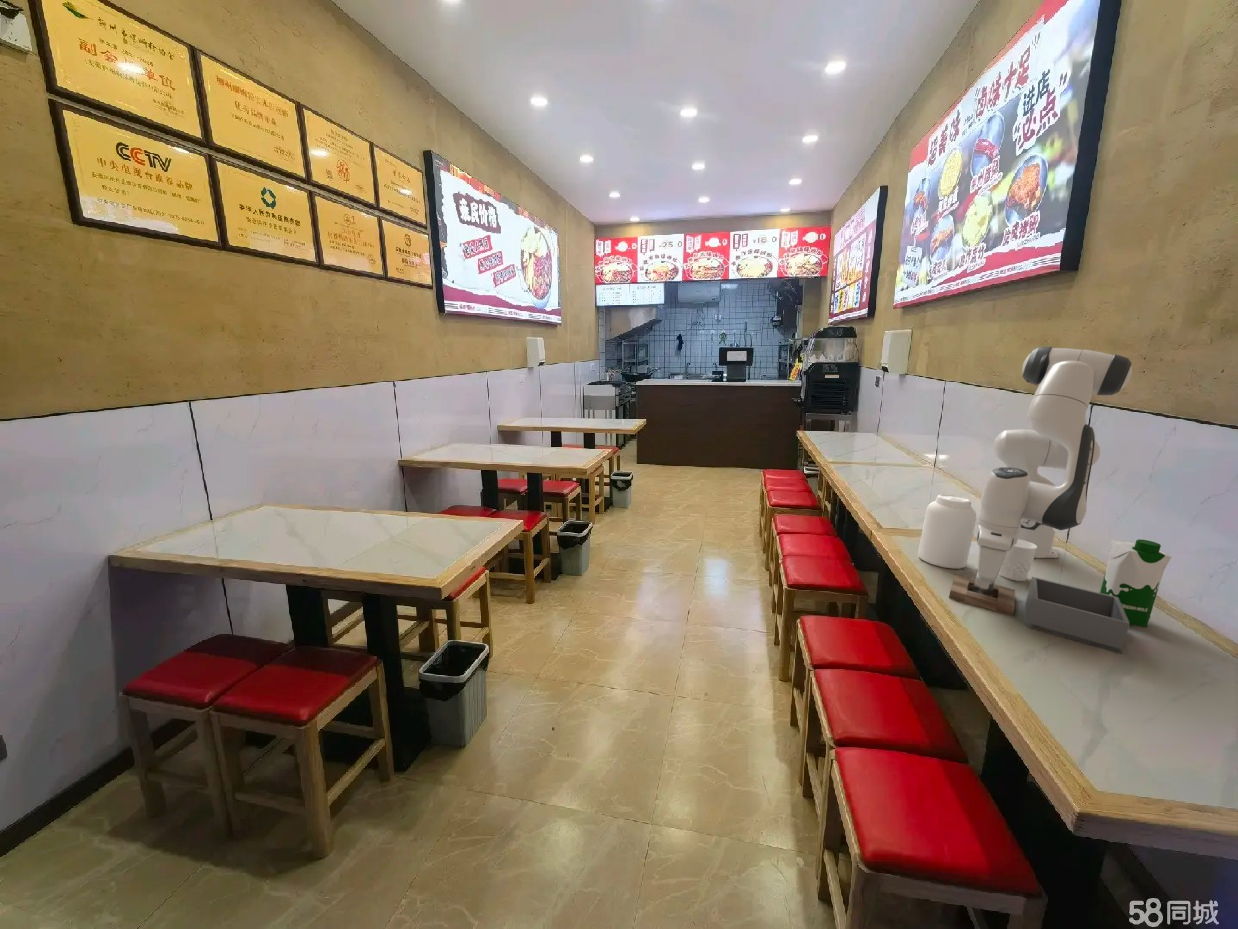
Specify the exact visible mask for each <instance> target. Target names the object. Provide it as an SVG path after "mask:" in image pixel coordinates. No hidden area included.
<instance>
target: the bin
mask: <svg viewBox="0 0 1238 929" xmlns="http://www.w3.org/2000/svg"><path fill="white" fill-rule="evenodd" d="M1025 600H1026V601H1025V616H1026V617H1025V620H1026V621H1025V622H1026V623H1025V625H1026V628H1030V629H1033V630H1037V631H1040V632H1043V633H1047V634H1051V635H1054V636H1058V637H1062V638H1065V639H1067V640H1071V641H1075V642H1079V643H1081V644H1085V645H1086V644H1087V645H1088V646H1092V647H1094V648H1095V647H1096V648H1100V649H1103V650H1105V651H1106V650H1107V651H1110V652H1114V653H1117V654H1119V655H1120V654H1121V655H1122V651H1123V647H1124V645H1125V641H1126V639H1127V638H1126V637H1127V635H1128V631H1129V628H1130V625H1131V624H1130V623H1129V621H1128V618H1127V616H1126V614H1125V611H1124V609H1123V607H1122V605H1121V602H1120V600H1119V598H1118V597H1115V596H1111V595H1106V594H1102V593H1100V592H1099V591H1093V590H1089V589H1086V588H1081V587H1077V586H1072V585H1068V584H1064V583H1060V582H1056V581H1052V580H1047V579H1045V578H1039V577H1035V576H1031V580H1030V584H1029V588H1028V592H1027V596H1026V599H1025Z"/></svg>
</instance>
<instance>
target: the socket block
mask: <svg viewBox="0 0 1238 929" xmlns="http://www.w3.org/2000/svg"><path fill="white" fill-rule="evenodd" d="M975 579H976V578H971V577H968V576H964V575H959V574H956V573H955V574H954V578H953V581H952V585H951V587H950V591H949V595H948V598H949V599H951V600H955V601H959V602H963V603H966V604H969V605H974V606H978V607H980V608H985V609H987V610H992V611H995V612H999V613H1002V614H1005V615H1009V616H1011V617H1012V616H1014V611H1015V604H1016V603H1015V597H1016V596H1015V594H1016V589H1014V588H1009V587H1006V586H1002V585H998V584H996V583H995V584H994V588H993V592H992V597H990V596H987V595H983V594H979V593H976V592H973V588H974V583H975Z"/></svg>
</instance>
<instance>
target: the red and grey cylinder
mask: <svg viewBox="0 0 1238 929" xmlns="http://www.w3.org/2000/svg"><path fill="white" fill-rule="evenodd" d="M974 579H975V583H974V588H973V590H972V592H976V593H979V594H983V595H987V596H990V597H993V596H992V592H993V588H994V584H995V585H996V580H991V581H990V583H989V587H988V589H983V588H981V587H980V582H981V577H979V576H978V569H977V571H976V575H975V578H974Z"/></svg>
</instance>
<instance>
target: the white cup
mask: <svg viewBox="0 0 1238 929" xmlns="http://www.w3.org/2000/svg"><path fill="white" fill-rule="evenodd" d="M1036 550H1037V546H1036V545H1034V544H1032V543H1030V542H1027V541H1023V540H1019V539H1018V540H1017V544H1016V545H1014V546H1012V547H1011V550H1010V551H1007V553H1006V556H1005V558H1004V561H1003V564H1002V566H1001V569H1000V572H999V574H998V576H1001V577H1003V578H1004V579H1008V580H1013V581H1016V582H1025V581H1027V579H1028V576H1029V573H1030V570H1031V567H1032V565H1033V562H1034V559H1035V558H1034V556H1035V553H1036Z"/></svg>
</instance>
